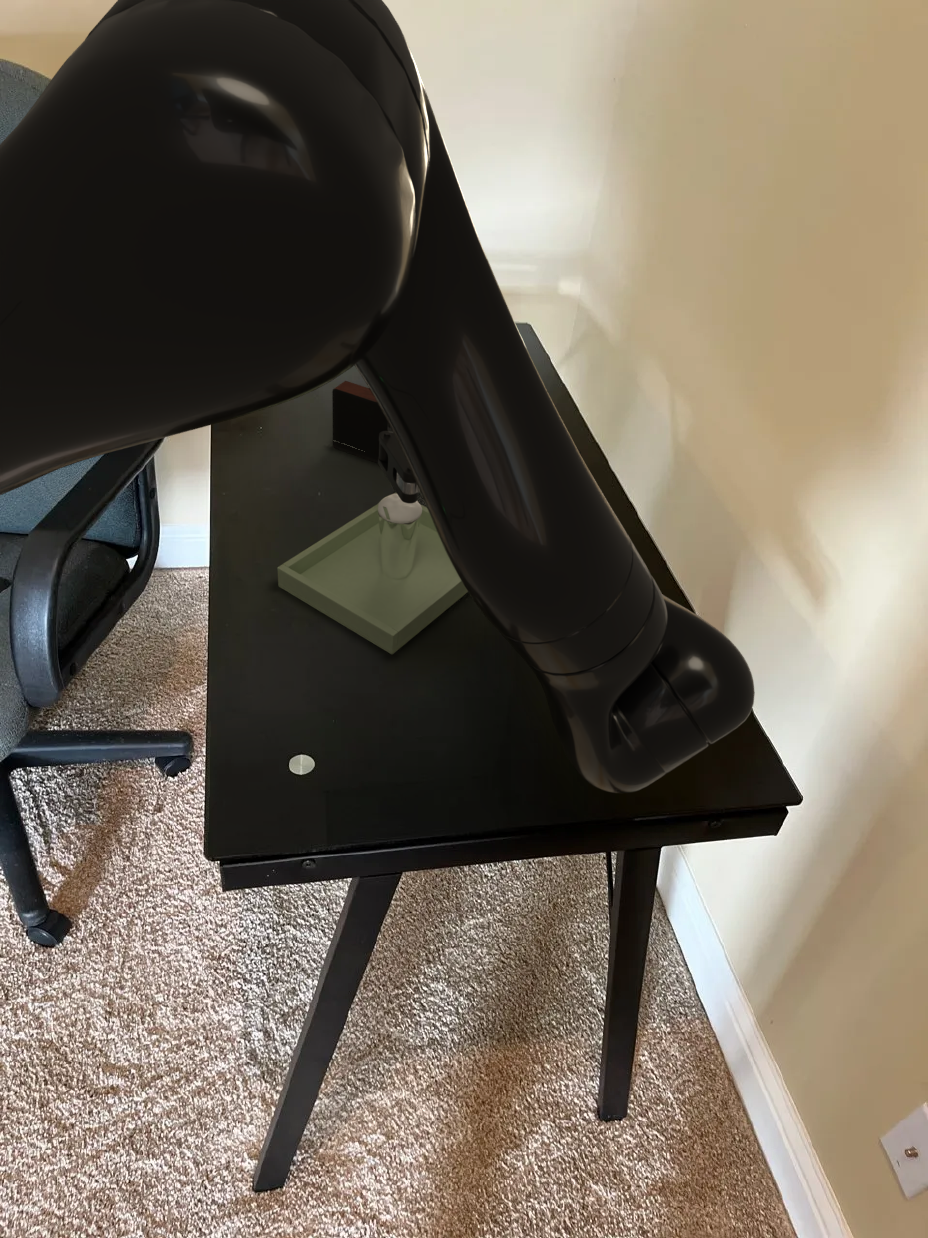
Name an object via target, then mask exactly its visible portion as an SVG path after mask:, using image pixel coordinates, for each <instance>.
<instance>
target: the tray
mask: <svg viewBox="0 0 928 1238" xmlns="http://www.w3.org/2000/svg"><path fill="white" fill-rule="evenodd" d="M393 494H397V493H396V492H394V493H393ZM378 504H379V502H378V503H377V504H375V505H374V506H372V507H371V508H369V509H367V510H366V511H364V512H362V513H361V514H360V515H357V516H356V517H355V518H353V519H352V520H350V521H348V522H347V523H345V524H343V525H342V526H340V527H339V528H337V529H336V530H334V531H332V532H330V533H329V534H328V535H326V536H324V537H323V538H322V539H319V540H318V541H317V542H315V543H313V544H312V545H311V546H309V547H308V548H306V549H304V550H303V551H301V552H299V553H297V554H296V555H295V556H293V557H292V558H290V559H288V560H286V561H285V562H283V563H282V564H280V565H279V566H278V567H276V568H277V569H276V570H277V584H278V585H277V586H278V588H280V589H281V590H283V591H285V592H287V593H288V594H290V595H291V596H294V597H295V598H297V599H298V600H300V601H302V602H303V603H305V604H307V605H309V606H310V607H312V608H313V609H315V610H317V611H319V612H320V613H322V614H323V615H325V616H327V617H328V618H330V619H332V620H334V621H335V622H337V623H338V624H340V625H341V626H343V627H345V628H346V629H348V630H350V631H352V632H353V633H355V634H357V635H358V636H360V637H362V638H363V639H365V640H367V641H369V642H370V643H372V644H373V645H375V646H377V647H378V648H380V649H381V650H383V651H385V652H386V653H389V654H390V655H394V654H395V653H396V652H397V651H398V650H400V649H401V648H402V647H403V646H405V645H406V644H407V643H408V642H409V641H411V640H412V639H413V638H415V637H416V635H418V634H419V633H421V631H423V630H424V629H425V628H426V627H427V626H428V625H430V624H431V623H432V622H434V621H435V620H436V619H437V618H438V617H440V616H441V615H442V614H444V612H445V611H447V610H448V609H449V608H451V607H452V606H453V605H454V604H456V602H458V601H459V600H460V599H461V598H462V597H464V596H465V595H466V594H467V593H469V592H468V591H467V589H466V588H465V586H464V584H463V583H462V581H461V580H460V578H459V576H458V574H457V573H456V571H455V569H454V567H453V565H452V563H451V561H450V559H449V557H448V555H447V553H446V551H445V549H444V547H443V545H442V542H441V540H440V538H439V536H438V533H437V531H436V529H435V526H434V524H433V521H432V519H431V516H430V514H429V511H428V509H427V507H426V505H423V504H421V503H419V504H420V505H421V507H422V514H421V519H420V524H419V529H418V534H417V540H416V546H415V552H414V558H413V564H412V570H411V573H410V574H409V575H408V576H407V577H404V578H400V579H395V578H390V577H388V576H386V575H385V574H384V573H383V572H382V557H381V536H380V528H379V517H378Z"/></svg>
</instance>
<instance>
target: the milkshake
mask: <svg viewBox="0 0 928 1238" xmlns="http://www.w3.org/2000/svg"><path fill="white" fill-rule="evenodd" d="M378 503H379V504H378ZM378 503H377V504H378V517H379V528H380V536H381V557H382V572H383V573H384V574H385V575H386V576H388V577H390V578H395V579H400V578H404V577H407V576H408V575H409V574H410V573H411V570H412V564H413V558H414V552H415V546H416V540H417V534H418V529H419V524H420V519H421V514H422V507H421V505H422V504H421V503H419V501H418V500H417V501H416V502H415V503H405V502H403V501H402V500H401V499H400V497H399V496H398V494H394V493H392V494H389V495H387V496H385V497H383V498H382V499H381V500H380V501H379V502H378ZM420 504H421V505H420Z"/></svg>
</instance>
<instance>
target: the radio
mask: <svg viewBox="0 0 928 1238" xmlns="http://www.w3.org/2000/svg"><path fill="white" fill-rule="evenodd" d="M331 393H332V394H331V395H332V397H331V398H332V400H331V401H332V447H333V448H334V449H336V450H339V451H341V452H344V453H347V454H350V455H352V456H356V457H358V458H361V459H365V460H367V461H370V462H373V463H376V464H378V457H379V433H380V432H382V431H388V421H387V419H386V417H385V415H384V413H383V412H382V410H381V408H380V406H379V404H378V402H377V400H376V399H375V397H374V395H373V393H372V392H371V390H370V389H369V387H368V386H364V385H361V384H357V383H354V382H351V381H348V380H344V381H343V382H341V383H340V384H338V385H337V386H336V387H333V389H332V392H331ZM333 440H336V441H339V442H340V443H338V442H334V441H333ZM341 443H345V444H347V445H350V446H353V447H355V448H357V449H355V448H352V447H350V446H347V445H344V444H341ZM358 449H360V450H358ZM361 450H363V451H361ZM364 451H365V452H364Z"/></svg>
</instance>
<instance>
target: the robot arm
mask: <svg viewBox="0 0 928 1238" xmlns="http://www.w3.org/2000/svg"><path fill="white" fill-rule="evenodd" d="M432 107H433V106H432V104H431V102H430V98H429V96H428V93H427V90H426V88H425V85H424V83H423V80H422V77H421V74H420V72H419V69H418V66H417V64H416V61H415V59H414V56H413V53H412V51H411V48H410V46H409V44H408V42H407V39H406V37H405V35H404V33H403V31H402V29H401V27H400V25H399V23H398V21H397V20H396V19H395V16H394V15H393V13H392V12H391V10H390V8H389V7H388V6H387V4H386V3H385V2H384V0H116V2H115V3H114V4H113V5H112V6H111V7H110V8H109V10H108V11H107V12H106V13H105V14H104V15H103V16H102V18H100V20H99V21H98V22H97V23H96V25H95V26H94V27H93V28H92V29H91V30H90V31H89V33H88V34H87V36H86V37H85V39H84V40H83V41H82V42H81V43H80V44H79V45H78V47H76V48H75V49H74V50H73V51H72V53H71V54H70V55H69V56H68V58H66V60H65V61H64V62H63V64H62V65H61V66H60V67H59V68H58V70H57V72H56V73H55V74H54V76H53V77H52V78H51V79H50V81H49V83H47V85H46V86H45V88H44V89H43V91H42V93H41V94H40V95H39V96H38V98H37V99H36V101H35V102H34V104H33V105H32V106H31V107H30V109H29V110H28V112H27V113H26V114H25V115H24V117H23V118H22V119H21V120H20V121H19V122H18V124H17V126H16V127H15V128H14V129H12V131H11V132H10V133H9V134H8V135H7V136H6V138H4V140H3V141H1V143H0V496H2V495H4V494H7V493H9V492H12V491H14V490H17V489H18V488H21V487H24V486H25V485H27V484H29V483H31V482H34V481H35V480H37V479H40V478H42V477H44V476H46V475H48V474H51V473H54V472H56V471H58V470H60V469H63V468H66V467H69V466H71V465H75V464H78V463H80V462H83V461H86V460H90V459H93V458H96V457H99V456H103V455H107V454H109V453H112V452H116V451H121V450H124V449H128V448H131V447H135V446H138V445H143V444H146V443H149V442H153V441H157V440H160V439H165V438H169V437H173V436H176V435H179V434H184V433H186V432H190V431H194V430H198V429H202V428H205V427H208V426H213V425H216V424H219V423H223V422H227V421H230V420H231V421H232V420H234V419H238V418H240V417H244V416H247V415H250V414H254V413H257V412H260V411H263V410H266V409H269V408H273V407H276V406H279V405H282V404H285V403H287V402H290V401H293V400H295V399H298V398H301V397H302V396H304V395H307V394H309V393H312V392H315V391H316V390H318V389H320V388H321V387H324V386H325V385H327V384H329V383H331V382H332V381H334V380H335V379H337V378H338V377H340V376H341V375H343V374H344V373H346V372H347V371H349V370H351V369H352V368H353V367H355V369H356V370H357V372H358V373H359V375H360V376H361V378H362V379H363V381H364V383H365V384H366V385H367V388H369V389H370V390H371V392H372V393H373V395H374V397H375V399H376V400H377V402H378V404H379V406H380V408H381V410H382V412H383V413H384V415H385V417H386V419H387V421H388V431H382V432H380V433H379V457H378V463H377V465H378V466H379V468H380V469H381V471H382V473H383V474H384V476H385V477H386V479H387V480H388V482H389V484H390V485H391V487H392V488H393V490H394V491H395V493H397V494H398V496H399V497H400V499H401V500H402V501H403V502H405V503H415V502H416V501H418V499H419V493H420V495H421V498H422V500H423V502H424V503H425V504H424V505H425V507H427V509H428V511H429V514H430V516H431V519H432V521H433V524H434V526H435V529H436V531H437V533H438V536H439V538H440V540H441V542H442V545H443V547H444V549H445V551H446V553H447V555H448V557H449V559H450V561H451V563H452V565H453V567H454V569H455V571H456V573H457V574H458V576H459V578H460V580H461V581H462V583H463V584H464V586H465V588H466V589H467V591H468V592H467V593H468V594H469V596H470V597H471V599H472V600H473V602H474V603H475V605H476V606H477V607H478V609H479V610H480V611H481V612H482V614H483V615H484V617H486V619H488V620H489V622H490V623H491V625H492V626H494V628H495V629H496V630H497V632H499V633H500V635H501V636H502V637H503V638H504V639H505V641H506V642H508V644H509V645H510V646H511V647H512V649H514V650H515V652H516V653H517V654H518V655H519V657H520V658H522V659H523V660H524V663H526V664H527V665H528V667H529V668H530V669H531V671H532V672H533V674H534V676H535V677H536V678H537V680H538V681H539V683H540V686H541V687H542V690H543V692H544V695H545V698H546V701H547V706H548V709H549V713H550V717H551V720H552V724H553V727H554V731H555V733H556V735H557V739H558V741H559V743H560V746H561V748H562V750H563V753H564V754H565V755H566V758H567V760H568V761H569V763H570V764H571V766H572V767H573V769H574V770H575V772H577V774H578V775H580V777H582V779H583V780H584V781H585V782H587V783H588V784H590V785H591V786H593V787H595V788H597V789H598V790H600V791H604V792H608V793H613V794H631V793H635V792H638V791H640V790H642V789H645V788H647V787H649V786H650V785H652V784H653V783H655V782H656V781H657V780H659V779H661V778H662V777H664V776H666V775H667V774H669V773H670V772H671V771H673V770H675V769H677V768H678V767H679V766H681V765H682V764H684V763H685V762H687V761H689V760H690V759H692V758H694V757H695V756H697V755H698V754H699V753H701V752H703V751H704V750H705V749H707V748H708V747H709V745H712V746H713V745H714V744H716V743H717V742H718V741H720V740H721V739H723V738H725V737H727V736H728V735H729V734H731V733H732V732H733V731H734V732H735V730H736V729H739V727H740V726H741V725H743V724H744V723H745V722H746V721H747V719H748V718H749V716H750V715H751V713H752V710H753V707H754V703H755V684H754V678H753V674H752V670H751V669H750V666H749V664H748V662H747V661H746V659H745V657H744V655H743V654H742V653H741V651H740V650H739V648H738V647H737V646H736V645H735V644H734V643H733V642H732V641H731V640H730V639H729V638H728V637H727V636H726V635H725V634H724V633H723V632H722V631H720V630H719V629H718V628H717V627H715V626H714V625H712V624H711V623H710V622H709V621H707V620H705V619H704V618H703V617H701V616H699V615H698V614H696V613H695V612H693V611H691V610H689V609H688V608H686V607H684V606H683V605H681V604H679V603H677V602H676V601H674V600H672V599H671V598H669V597H667V596H666V595H665V594H662V591H661V590H660V587H659V585H658V584H657V582H656V580H655V578H654V577H653V575H652V574H651V572H650V570H649V569H648V567H647V565H646V563H645V561H644V560H643V558H642V556H641V555H640V553H639V551H638V549H637V548H636V546H635V544H634V543H633V541H632V539H631V537H630V536H629V534H628V533H627V531H626V529H625V528H624V526H623V524H622V523H621V521H620V519H619V518H618V516H617V514H616V513H615V511H614V510H613V508H612V506H611V505H610V503H609V502H608V500H607V498H606V496H605V495H604V493H603V491H602V489H601V488H600V486H599V485H598V483H597V481H596V479H595V478H594V476H593V474H592V473H591V470H590V468H589V467H588V465H587V464H586V462H585V460H584V458H583V457H582V455H581V453H582V452H581V450H580V449H579V447H578V446H577V445H576V443H575V442H574V440H573V438H572V436H571V434H570V432H569V431H568V428H567V427H566V425H565V423H564V420H563V419H562V417H561V415H560V413H559V411H558V409H557V407H556V406H555V404H554V402H553V400H552V397H551V396H550V394H549V392H548V390H547V388H546V386H545V383H544V381H543V379H542V378H541V377H542V376H541V375H540V373H539V371H538V369H537V366H536V365H535V363H534V361H533V359H532V357H531V354H530V353H529V350H528V348H527V346H526V344H525V342H524V339H523V337H522V335H521V333H520V331H519V329H518V327H517V324H516V322H515V320H514V318H513V315H512V313H511V311H510V308H509V307H508V304H507V301H506V300H505V297H504V295H503V292H502V290H501V288H500V286H499V284H498V281H497V278H496V276H495V273H494V271H493V269H492V267H491V264H490V262H489V259H488V257H487V255H486V254H487V253H486V251H485V250H484V247H483V245H482V242H481V240H480V237H479V234H478V232H477V228H476V226H475V223H474V221H473V217H472V215H471V213H470V210H469V207H468V205H467V201H466V199H465V196H464V193H463V190H462V188H461V185H460V182H459V179H458V177H457V174H456V171H455V168H454V165H453V162H452V160H451V157H450V154H449V151H448V148H447V145H446V143H445V139H444V137H443V135H442V132H441V129H440V126H439V124H438V121H437V118H436V116H435V113H434V110H433V108H432Z"/></svg>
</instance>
